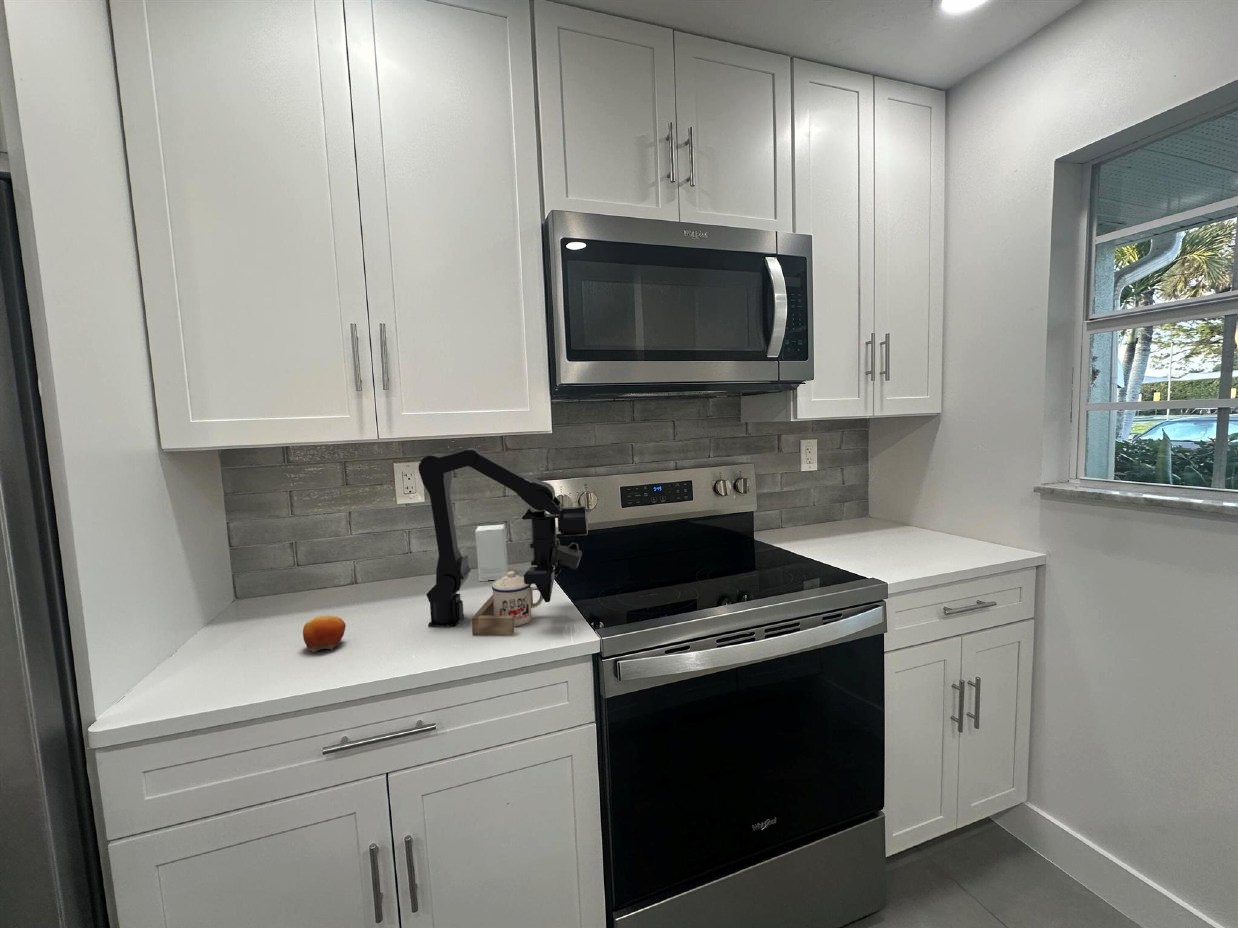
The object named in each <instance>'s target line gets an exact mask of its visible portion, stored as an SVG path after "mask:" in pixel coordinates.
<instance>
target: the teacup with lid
mask: <svg viewBox="0 0 1238 928" xmlns="http://www.w3.org/2000/svg"><path fill="white" fill-rule="evenodd" d="M491 590H492V595H493V601H494V616H514V627H518V626H523V625H525V624H527V623H529V622H530V621H531V619H532V617H533V616H532V615H533V614H532V609H534V608H537V607H538V606H540V605H541V604H542V603H543V601H544V599H543V597H542V595H541V594H540V593H539V595H540V596H539V599H538V600H537V601H536V602H535V603H533V604H531V592H530V591H532V590H533V591H538V592H539V590H538V588H537V587H536V586H532V584H525V583H524V576H521V575H518V574H516V571H513V570H510V571H509V570H508V572H507V576H504V577H503V578H501V579H499V580H494V582H493V583H492V586H491Z"/></svg>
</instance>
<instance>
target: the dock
mask: <svg viewBox="0 0 1238 928" xmlns="http://www.w3.org/2000/svg"><path fill="white" fill-rule="evenodd" d="M530 592H531V604H534V595H533V592H534V590H532V591H530ZM471 630H472V631H471V633H472V635H486V636H487V635H500V637H503V635H504V637H506V635H507V637H509V636H510V637H511V636H512V637H513V636H514V635H515V626H514V616H494V601H493V594H492V595H490V597H489V598H488V599H486V601H485V602H484V603H483V605H481V607H480V608H479V609H478V610H477V611H476V613H475V614H474V615H473V616H472V617H471ZM501 635H502V636H501ZM508 635H509V636H508ZM486 636H485V637H486Z"/></svg>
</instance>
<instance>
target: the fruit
mask: <svg viewBox="0 0 1238 928" xmlns="http://www.w3.org/2000/svg"><path fill="white" fill-rule="evenodd" d="M346 625H347V624H346V622H345V621H344V620H343V619H342V618H341V617H339V616H338V615H337V616H335V615H319V616H316V617H314V618H313V619H311V620H310V621H308V622H306V623H305V624H304V625H303V629H302V637H303V638H302V639H303V641H304V644H305V645H306V648H307V649H308V650H309V651H310V652H312V653H313V655H314V653H316V652H317V651H320V650H324V649H325V650H326V649H327V650H332V652H335V650H334V648H335V647H336V646H337V645H339V644H340V642H341V641H342V639H343V637H344V635H345V631H346Z"/></svg>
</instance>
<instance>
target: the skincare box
mask: <svg viewBox="0 0 1238 928" xmlns="http://www.w3.org/2000/svg"><path fill="white" fill-rule="evenodd" d="M505 526H506V525H505V524H492V525H491V524H490V525H477V528H476V529H475V530H474V532H475V545H476V547H475V548H476V556H477V570H478V581H482V582H489V581H488V580H494V581H497V580H499V579H501V578H503V577H504V576H507V572H509V568H508V567H509V565H508V553H507V552H508V551H507V550H508V549H507V538H506V527H505Z"/></svg>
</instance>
